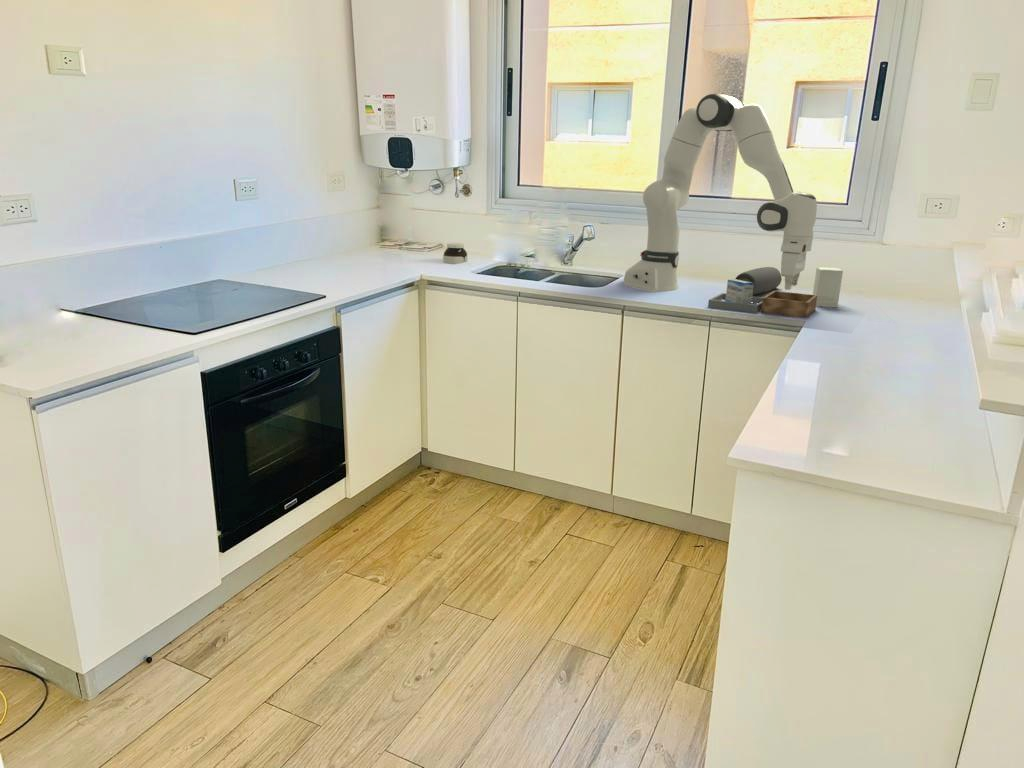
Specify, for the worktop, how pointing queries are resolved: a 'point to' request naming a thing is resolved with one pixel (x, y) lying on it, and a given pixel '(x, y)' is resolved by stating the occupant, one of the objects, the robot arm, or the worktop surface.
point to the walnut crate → (789, 304)
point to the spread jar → (455, 254)
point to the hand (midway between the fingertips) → (790, 287)
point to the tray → (735, 304)
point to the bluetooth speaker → (762, 279)
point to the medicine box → (739, 291)
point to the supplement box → (827, 286)
